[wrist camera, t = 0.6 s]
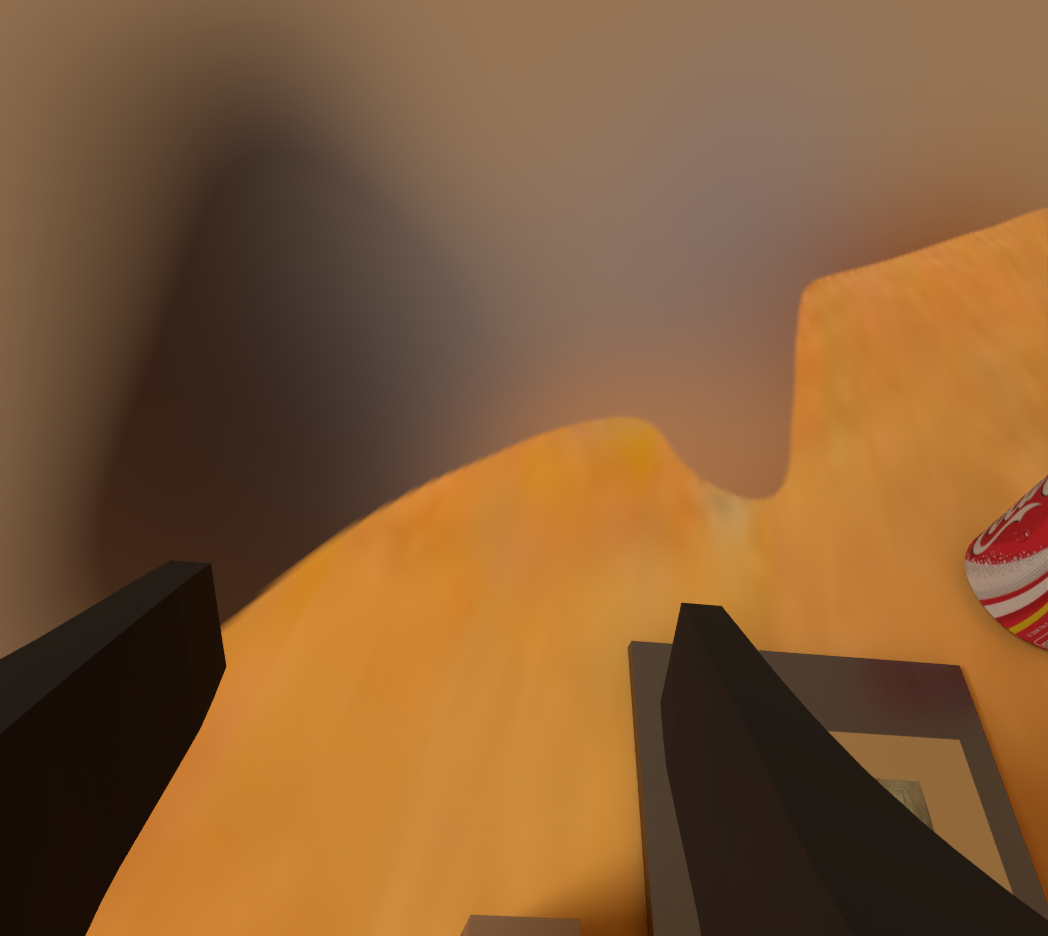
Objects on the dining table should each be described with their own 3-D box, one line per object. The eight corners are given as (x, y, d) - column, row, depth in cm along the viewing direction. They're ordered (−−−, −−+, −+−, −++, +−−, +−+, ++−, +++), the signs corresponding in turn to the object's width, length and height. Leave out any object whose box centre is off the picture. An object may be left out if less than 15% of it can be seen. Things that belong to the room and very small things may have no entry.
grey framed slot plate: (1181, 1309, 19) (1286, 1347, 17) (675, 1311, 18) (714, 1352, 16) (950, 671, 31) (995, 640, 28) (628, 647, 30) (646, 613, 27)
